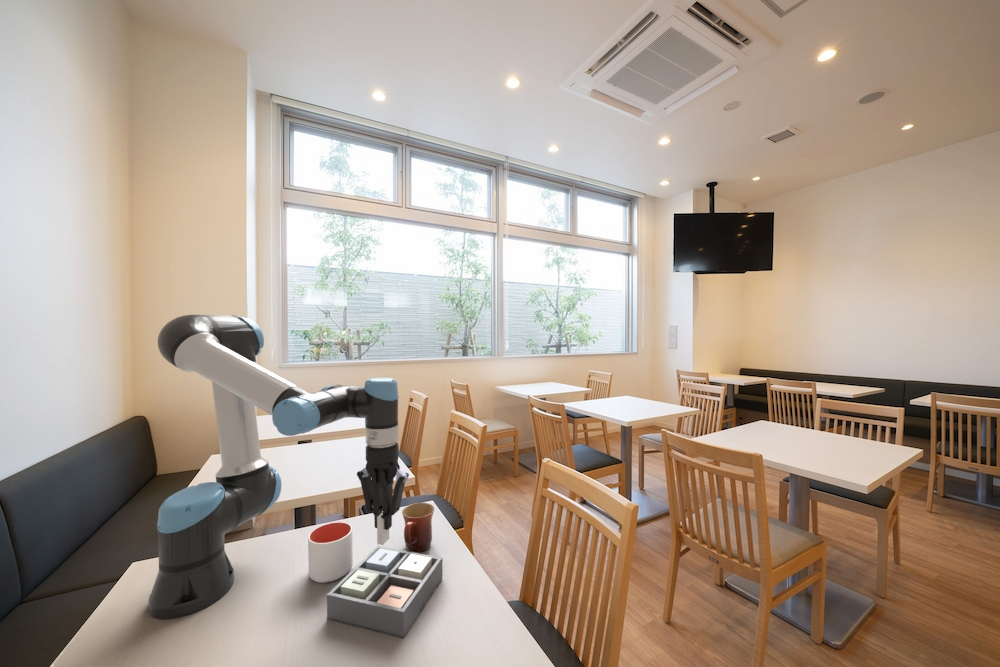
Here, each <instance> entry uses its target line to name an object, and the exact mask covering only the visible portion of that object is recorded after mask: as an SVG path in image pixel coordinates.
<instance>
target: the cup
mask: <svg viewBox="0 0 1000 667" xmlns="http://www.w3.org/2000/svg"><path fill="white" fill-rule="evenodd" d="M307 538H308V540H307V542H308V544H307V547H308V550H307V552H308V554H307V555H308V576H309V578H310V580H312V581H314V582H316V583H320V584H321V583H322V584H323V583H331V582H334V581H336V580H339V579H342V577H343V578H344V576H346V575H347V574H348V573H349V571H351V569H352V565H353V527H352V525H351V524H349V523H347V522H341V521H337V522H330V523H325V524H323V525H320V526H318V527H316V528H314V529H313V530H312V531H311V532H310V533H309V534H308V537H307Z"/></svg>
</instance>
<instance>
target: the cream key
mask: <svg viewBox="0 0 1000 667" xmlns="http://www.w3.org/2000/svg"><path fill="white" fill-rule="evenodd" d="M431 568H432V558H430V557H425V556H419V555H414V554H410V555H409V556H408V558H407V559H406V560H405V561H404V562H403V563H402V565H401V566H400V567H399V568H398V575H399V576H404V577H409V578H414V579H419V580H423V579H424V578H425V576H426V575H427V573H428V572H429V571H430V569H431Z"/></svg>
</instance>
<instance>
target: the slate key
mask: <svg viewBox="0 0 1000 667" xmlns="http://www.w3.org/2000/svg"><path fill="white" fill-rule="evenodd" d="M399 561H400V552H397V551H392V550H386V549H381V548H380V549H379V550H378V551H376V552H375V553H374V554H373V555H372V556H371V557H370V558H369V559H368V560H367V561H366V569H369V570H374V571H379V572H384V573H389V572H390V571H391V570H392V569H393V567H394V566H395V565H396V564H397V563H398V562H399Z"/></svg>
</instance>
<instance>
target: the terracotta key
mask: <svg viewBox="0 0 1000 667" xmlns="http://www.w3.org/2000/svg"><path fill="white" fill-rule="evenodd" d="M413 593H414V590H411V589H406V588H402V587H397V586H392V585H391V586H390V587H389V588H388V590H387V591H386V592H385V593H384V594H383V596H382V597H381V598H380V599H379V600H378V602H377V603H380V604H385V605H389V606H394V607H398V608H403V607H404V605H405V604H406V602H407V601H408V600H409V598H410V597H411V596H412V594H413Z"/></svg>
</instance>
